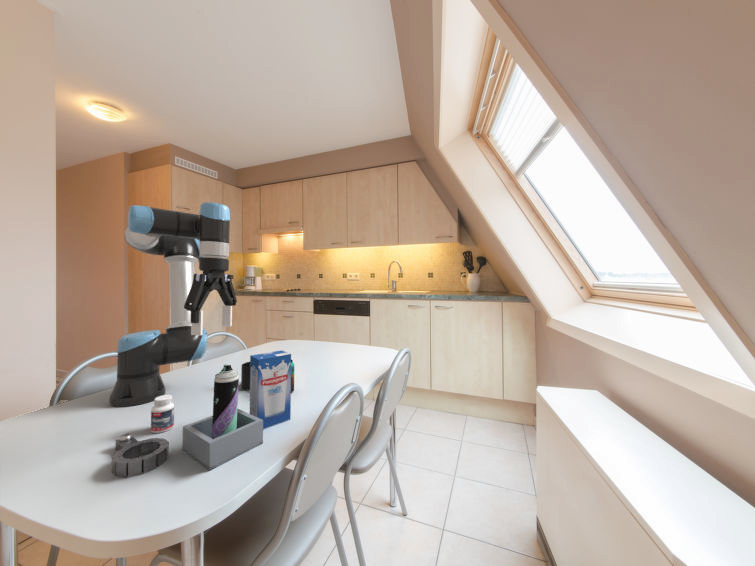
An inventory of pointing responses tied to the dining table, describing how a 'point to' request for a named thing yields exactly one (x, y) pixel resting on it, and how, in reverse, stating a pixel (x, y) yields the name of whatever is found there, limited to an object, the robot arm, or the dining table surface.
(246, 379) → the mug
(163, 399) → the pill bottle
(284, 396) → the milk carton
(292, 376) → the beverage can
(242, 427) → the bin
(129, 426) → the dining table surface
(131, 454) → the socket ring
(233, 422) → the spray can
